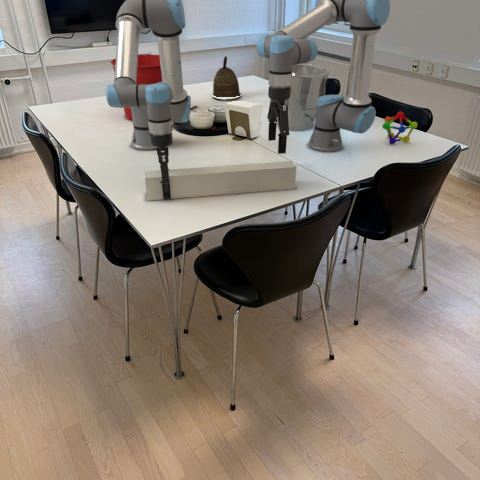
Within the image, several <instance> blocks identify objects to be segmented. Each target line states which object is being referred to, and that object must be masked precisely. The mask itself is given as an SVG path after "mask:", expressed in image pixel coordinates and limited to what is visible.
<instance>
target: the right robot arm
mask: <svg viewBox="0 0 480 480" xmlns="http://www.w3.org/2000/svg"><path fill="white" fill-rule="evenodd" d="M390 12H391V1H390V0H319V1H318V2H317V4H316V6H314V7H313V8H311V9H310V10H308V11H306V13H304V14H302V15H300V16H299V17H298V18H296V19H295V20H293V21H292V22H290V23H289V24H287V25H285V26H284V27H282V28H281V29H279V30H277V31H276V32H274V33H273V34H262V35H261V36H259V38H258V39H257V41H256V52H257V54H258V55H259V56H260V57H262V58H266V59H269V70H268V71H269V72H268V85H269V86H268V91H267V93H268V95H267V96H268V98H269V100H270V101H269V105H268V111H267V121H268V135H267V136H268V137H267V139H268V142H270V141H277V137H278V141H277V154H279V155H280V154H281V155H282V154H286V153H287V143H288V142H287V141H288V136H290V130H289V121H288V105H286V104H285V100H286V99H289V98H290V94H291V87H290V85H291V78H293V75H292V65H297V64H308V63H310V62H312V61H314V60H316V58H317V56H318V52H319V49H318V48H319V47H318V44H317V42H316V41H315V39H312V38H309V37H310V36H312V35H314V34H315V33H317V32H318V31H319V30H321V29H322V28H325V26H331V25H333V24H335V23H341V22H343V23H349V31H350V32H351V33H352V43H351V53H350V64H349V73H348V74H349V75H348V86H347V94H346V96H344V95H343V94H325V96H324V95H322V96H321V97H319V98H318V100H317V105H316V115H315V120H314V127H313V128H314V129H313V132H312V133H311V136H310V138H309V140H308V147H309V148H310V149H312V150H314V151H316V152H317V151H318V152H323V153H324V152H325V153H333V152H338V151H340V150H341V149H342V148H343V139H342V136H341V130H345V131H348V132H352V133H354V134H365V133H366V132H367V131H369V130H370V128H371V127H372V125H373V123H374V121H375V119H376V117H377V116H376V114H377V111H376V108H375V107H374V106H372V98H371V97H370V96H369V95H370V87H371V79H372V70H373V62H374V52H375V47H376V40H377V39H376V38H377V34H378V33H379V32H380V31H381V29H382V26H384V24H386V23H387V21H388V18H389V16H390ZM277 118H278V120H277ZM277 125H278V131H279V133H278V134H277Z"/></svg>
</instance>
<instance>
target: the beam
mask: <svg viewBox="0 0 480 480" xmlns="http://www.w3.org/2000/svg"><path fill="white" fill-rule="evenodd" d="M168 172H169V181H170V193H171V199H184V198H198V197H210V196H221V195H233V194H245V193H256V192H259V193H260V192H268V191H269V192H270V191H271V192H272V191H283V190H294V189H296V177H297V166H296V164H295V162H293V160H287V161H286V160H285V161H273V162H258V163H244V164H243V163H242V164H228V165H216V166H202V167H189V168H188V167H187V168H174V169H173V168H172V169H169V170H168ZM161 181H162V175H161V169H160V170H146V171H145V170H144V182H145V192H146V199H147V202H149V201H159V200H160V201H161V200H164V199H163V190H162V183H160V182H161ZM171 199H170V200H171Z"/></svg>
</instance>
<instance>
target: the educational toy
mask: <svg viewBox="0 0 480 480" xmlns="http://www.w3.org/2000/svg"><path fill="white" fill-rule="evenodd" d="M397 119H399V124H400V125H399V127H398V126H393V125H391V124H392V123H394V122H395V121H396V120H397ZM403 120H404V121H405V122H407V123H408V124H409V125H407V126H404V123H403ZM417 127H418V122H417V121H411V120H410V119H409V118H408V117H406V116H405V113H404V112H403V111H401V110H400V111H398V112H397V114H396V115H394V116H391V117H390V116H386V117H385V118H384V122H383V123H382V129H383V130H386V132H387V138H388V142H389V145H395V144H396V143H397V142H402V141H403V142H404V143H409V142H410V140H411V138H410V136H411V134H412V132H413V131H414V130H415V129H417ZM392 129H393V130H397V131H398V132H396V134H395V133H394V132H392ZM408 129H409V131H408V133H407V134H406V135H404V136H401V134H403V133H405V132H406V130H408ZM399 135H400V136H399Z"/></svg>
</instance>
